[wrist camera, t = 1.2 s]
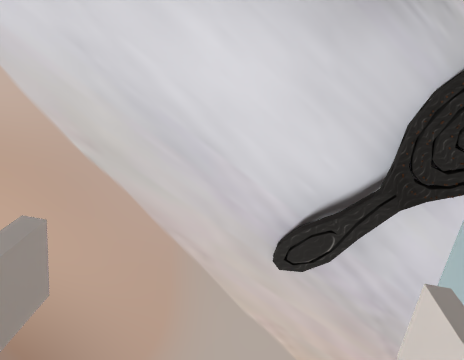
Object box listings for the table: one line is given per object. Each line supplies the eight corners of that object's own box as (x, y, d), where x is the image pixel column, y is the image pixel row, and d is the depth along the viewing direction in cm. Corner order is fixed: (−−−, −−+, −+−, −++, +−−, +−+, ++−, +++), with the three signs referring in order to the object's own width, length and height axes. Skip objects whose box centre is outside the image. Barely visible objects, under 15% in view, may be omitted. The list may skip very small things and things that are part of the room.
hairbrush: (239, 239, 28) (606, -7, 20) (246, 218, 32) (561, 1, 23) (307, 318, 29) (679, 118, 21) (306, 290, 33) (626, 107, 24)
